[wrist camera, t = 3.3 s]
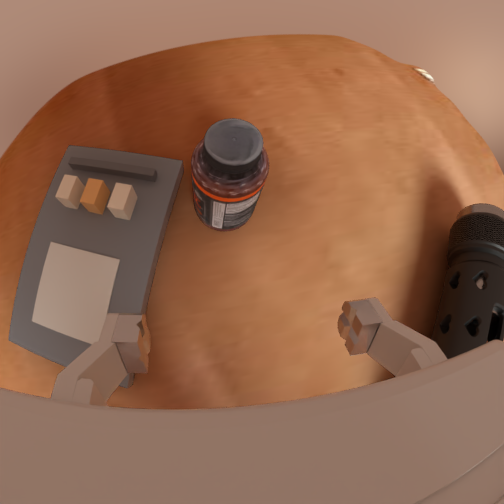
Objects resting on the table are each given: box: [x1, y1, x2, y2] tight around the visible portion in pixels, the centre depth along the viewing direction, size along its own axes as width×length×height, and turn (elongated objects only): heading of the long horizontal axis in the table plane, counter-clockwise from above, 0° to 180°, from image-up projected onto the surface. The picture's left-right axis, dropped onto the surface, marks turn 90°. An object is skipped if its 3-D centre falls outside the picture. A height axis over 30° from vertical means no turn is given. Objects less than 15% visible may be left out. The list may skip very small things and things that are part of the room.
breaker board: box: [9, 145, 184, 388], centre depth 24 cm, size 22×14×4 cm, turn 170°
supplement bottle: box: [191, 118, 269, 231], centre depth 24 cm, size 6×6×11 cm
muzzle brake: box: [431, 203, 504, 359], centre depth 24 cm, size 10×28×10 cm, turn 155°
